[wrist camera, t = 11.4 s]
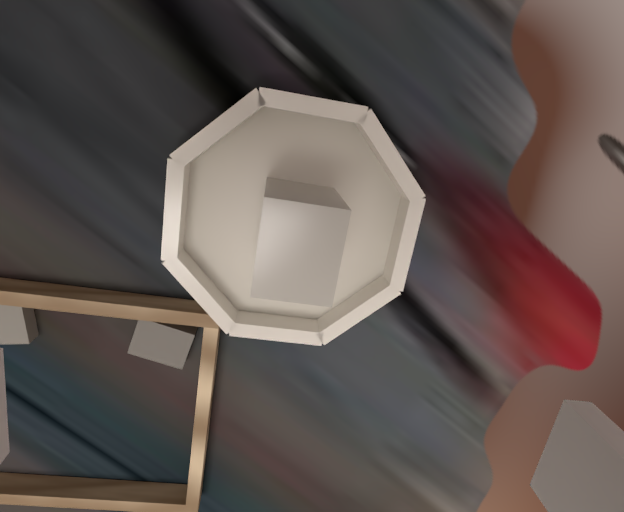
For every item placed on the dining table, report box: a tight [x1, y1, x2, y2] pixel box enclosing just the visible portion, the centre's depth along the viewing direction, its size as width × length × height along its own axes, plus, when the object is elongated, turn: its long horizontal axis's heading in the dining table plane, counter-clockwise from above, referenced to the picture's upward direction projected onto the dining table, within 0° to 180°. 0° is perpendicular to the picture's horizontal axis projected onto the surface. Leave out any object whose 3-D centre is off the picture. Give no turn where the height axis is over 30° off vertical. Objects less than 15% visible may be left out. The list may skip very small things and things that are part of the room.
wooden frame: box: [0, 277, 221, 512], centre depth 32 cm, size 18×20×2 cm
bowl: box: [161, 87, 426, 346], centre depth 29 cm, size 16×16×3 cm
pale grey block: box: [250, 177, 351, 307], centre depth 26 cm, size 6×4×7 cm
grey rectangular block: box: [128, 320, 198, 369], centre depth 32 cm, size 3×4×2 cm
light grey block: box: [0, 305, 39, 344], centre depth 30 cm, size 3×4×2 cm
